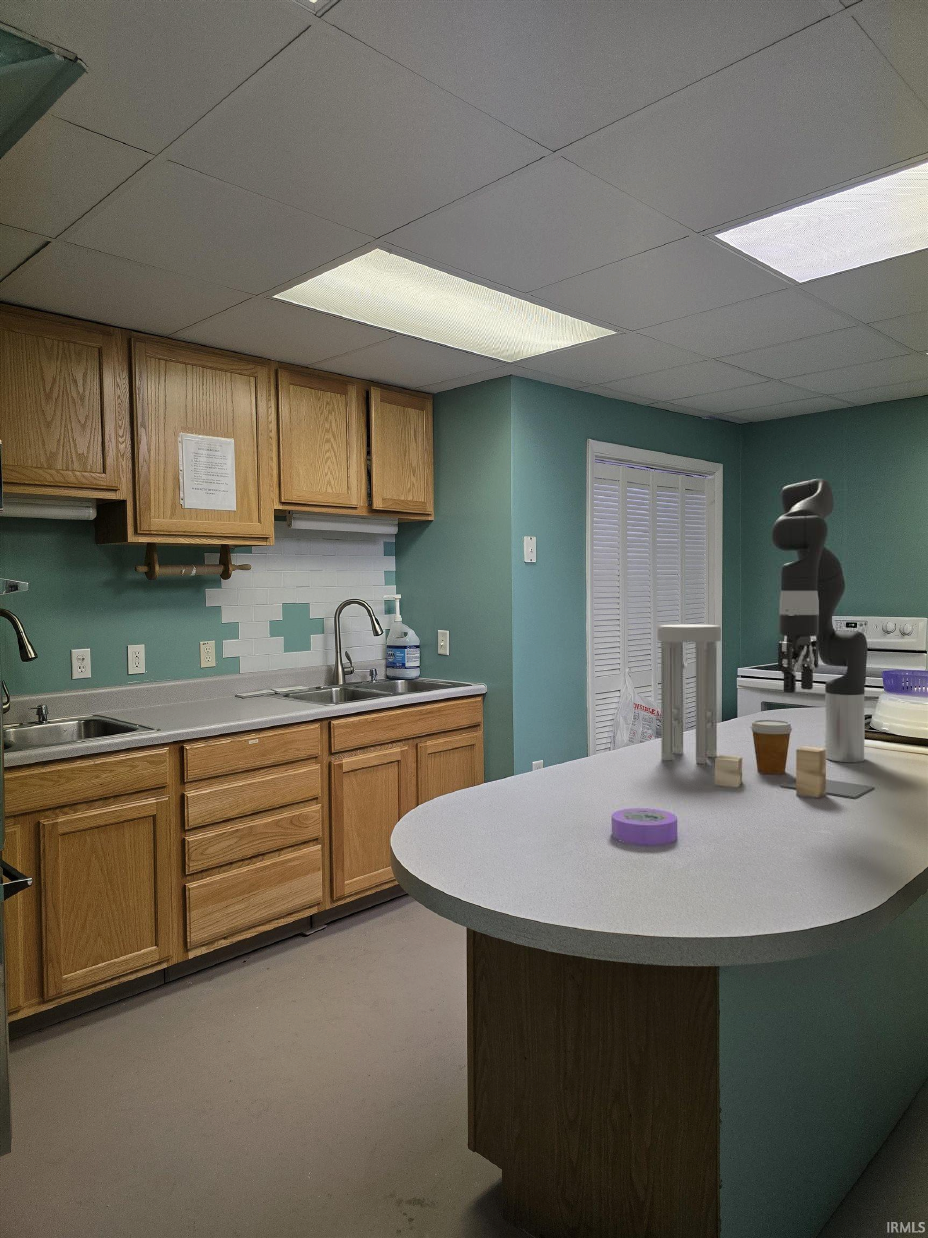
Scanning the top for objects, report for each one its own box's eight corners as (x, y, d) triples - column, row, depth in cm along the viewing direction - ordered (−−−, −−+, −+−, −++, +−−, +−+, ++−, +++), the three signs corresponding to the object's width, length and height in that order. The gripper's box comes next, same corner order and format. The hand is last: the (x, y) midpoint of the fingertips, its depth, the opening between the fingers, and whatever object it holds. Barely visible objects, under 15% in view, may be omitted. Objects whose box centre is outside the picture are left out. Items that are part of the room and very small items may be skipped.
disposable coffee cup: (785, 767, 203) (785, 719, 202) (797, 776, 193) (797, 725, 193) (746, 767, 204) (746, 719, 203) (756, 775, 194) (755, 725, 194)
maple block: (719, 780, 190) (719, 754, 190) (742, 782, 188) (742, 756, 188) (715, 785, 186) (715, 758, 186) (737, 787, 183) (737, 760, 183)
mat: (801, 777, 192) (801, 775, 192) (874, 788, 180) (874, 786, 180) (780, 786, 183) (780, 785, 183) (855, 798, 172) (855, 796, 172)
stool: (726, 755, 218) (726, 624, 217) (710, 766, 205) (710, 627, 204) (669, 750, 226) (669, 624, 225) (651, 760, 213) (650, 626, 212)
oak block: (804, 791, 179) (804, 746, 178) (825, 795, 175) (825, 748, 175) (796, 795, 175) (796, 749, 175) (817, 799, 172) (817, 752, 172)
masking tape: (599, 831, 152) (599, 811, 152) (653, 824, 156) (653, 804, 156) (634, 850, 141) (634, 828, 141) (690, 842, 145) (690, 820, 145)
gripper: (795, 612, 177) (795, 687, 177) (765, 613, 167) (765, 692, 167) (831, 612, 172) (830, 689, 172) (802, 613, 162) (801, 695, 162)
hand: (798, 690), depth 170 cm, fingers open, 8 cm apart
